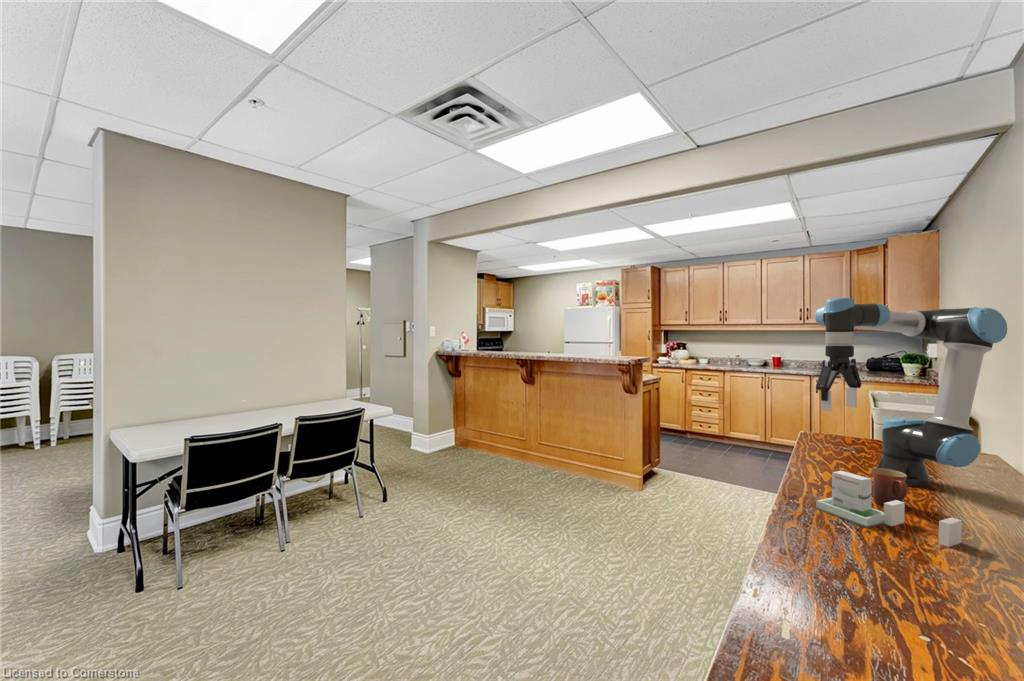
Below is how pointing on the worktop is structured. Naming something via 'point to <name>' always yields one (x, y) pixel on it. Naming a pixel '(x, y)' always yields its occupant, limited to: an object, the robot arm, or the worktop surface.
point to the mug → (888, 485)
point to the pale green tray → (851, 514)
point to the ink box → (851, 493)
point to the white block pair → (947, 527)
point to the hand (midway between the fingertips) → (839, 408)
